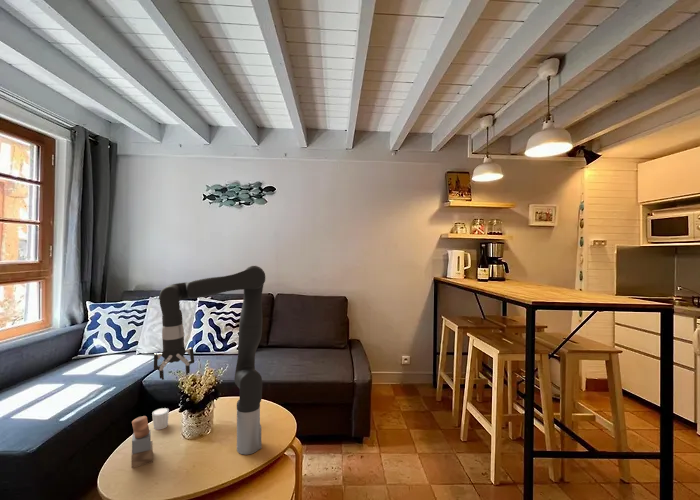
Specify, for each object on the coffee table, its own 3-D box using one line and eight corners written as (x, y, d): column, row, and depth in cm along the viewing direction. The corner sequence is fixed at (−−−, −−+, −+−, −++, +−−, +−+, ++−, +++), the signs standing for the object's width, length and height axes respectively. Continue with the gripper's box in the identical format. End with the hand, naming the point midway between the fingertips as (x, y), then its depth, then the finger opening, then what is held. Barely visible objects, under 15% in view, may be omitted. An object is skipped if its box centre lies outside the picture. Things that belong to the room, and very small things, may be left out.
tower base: (152, 452, 144) (152, 440, 144) (152, 462, 138) (152, 449, 138) (132, 457, 141) (132, 445, 141) (131, 468, 135) (131, 455, 135)
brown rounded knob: (150, 428, 142) (147, 414, 142) (148, 435, 138) (145, 420, 137) (136, 433, 141) (133, 418, 140) (133, 439, 136) (130, 424, 135)
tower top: (150, 441, 143) (150, 429, 143) (150, 450, 138) (150, 437, 138) (133, 445, 141) (132, 433, 140) (132, 454, 135) (131, 441, 135)
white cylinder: (162, 431, 160) (161, 415, 160) (148, 429, 161) (148, 414, 161) (172, 423, 167) (172, 408, 166) (159, 421, 168) (159, 407, 168)
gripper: (192, 331, 146) (193, 369, 147) (152, 336, 140) (154, 377, 140) (194, 335, 140) (195, 376, 141) (152, 341, 133) (154, 384, 134)
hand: (174, 376), depth 141 cm, fingers open, 8 cm apart
